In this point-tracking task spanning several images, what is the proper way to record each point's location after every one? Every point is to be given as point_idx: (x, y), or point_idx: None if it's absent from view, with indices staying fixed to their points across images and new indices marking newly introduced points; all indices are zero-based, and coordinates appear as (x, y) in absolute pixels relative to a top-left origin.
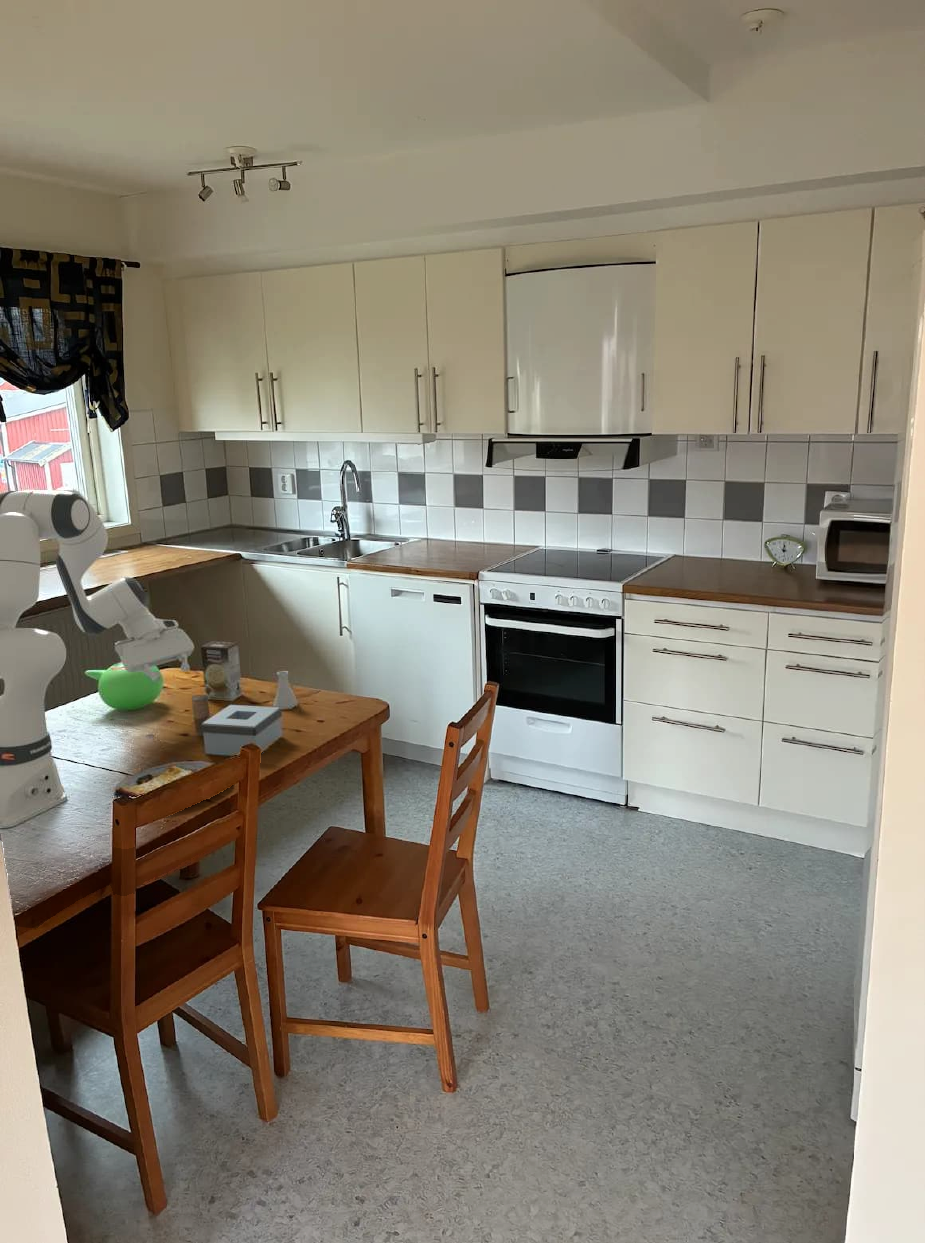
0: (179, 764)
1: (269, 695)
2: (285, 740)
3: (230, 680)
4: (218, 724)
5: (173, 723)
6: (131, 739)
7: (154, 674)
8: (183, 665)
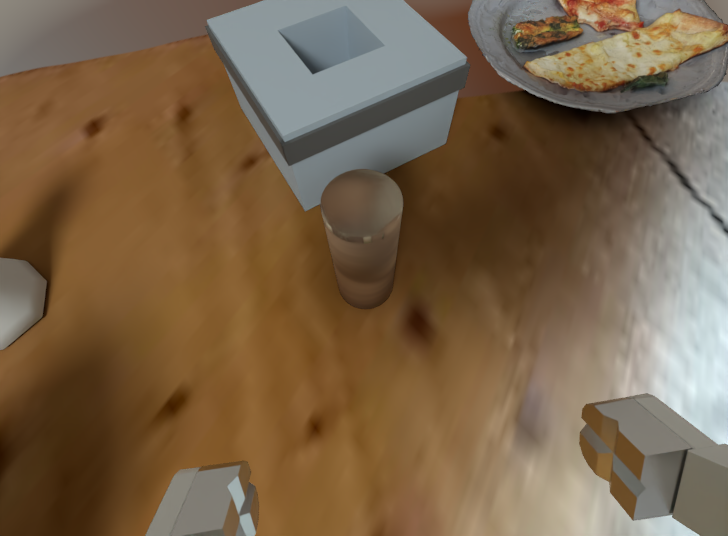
0: (546, 93)
1: None
2: None
3: None
4: (430, 25)
5: (388, 505)
6: None
7: (675, 418)
8: (232, 501)
